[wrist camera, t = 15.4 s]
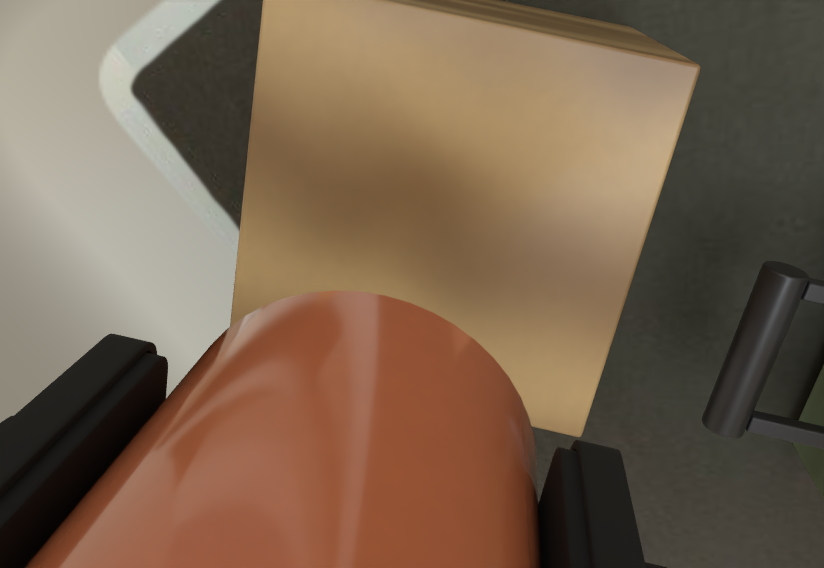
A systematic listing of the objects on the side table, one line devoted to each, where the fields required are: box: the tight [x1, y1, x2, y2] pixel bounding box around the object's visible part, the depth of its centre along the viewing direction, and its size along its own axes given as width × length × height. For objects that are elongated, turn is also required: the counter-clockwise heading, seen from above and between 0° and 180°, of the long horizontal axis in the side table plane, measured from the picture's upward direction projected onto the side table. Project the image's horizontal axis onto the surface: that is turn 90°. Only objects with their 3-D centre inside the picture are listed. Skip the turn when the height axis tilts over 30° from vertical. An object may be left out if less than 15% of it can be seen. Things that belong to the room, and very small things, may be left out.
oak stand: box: [230, 0, 700, 437], centre depth 25 cm, size 10×10×12 cm
